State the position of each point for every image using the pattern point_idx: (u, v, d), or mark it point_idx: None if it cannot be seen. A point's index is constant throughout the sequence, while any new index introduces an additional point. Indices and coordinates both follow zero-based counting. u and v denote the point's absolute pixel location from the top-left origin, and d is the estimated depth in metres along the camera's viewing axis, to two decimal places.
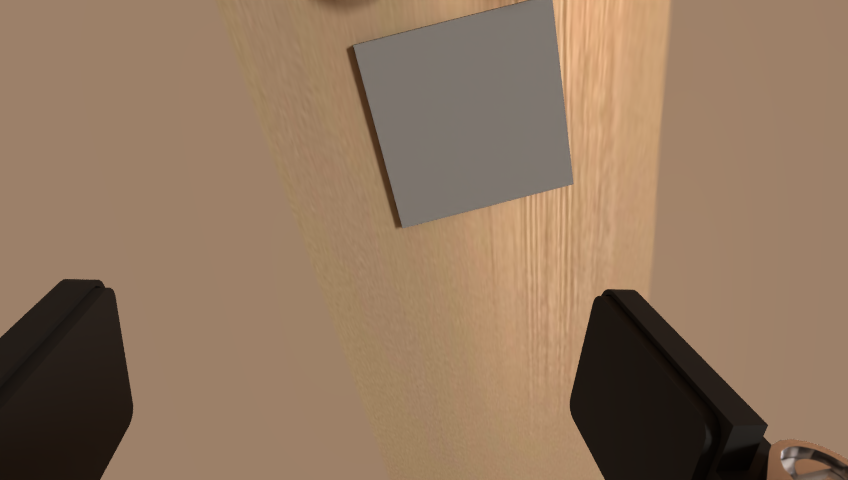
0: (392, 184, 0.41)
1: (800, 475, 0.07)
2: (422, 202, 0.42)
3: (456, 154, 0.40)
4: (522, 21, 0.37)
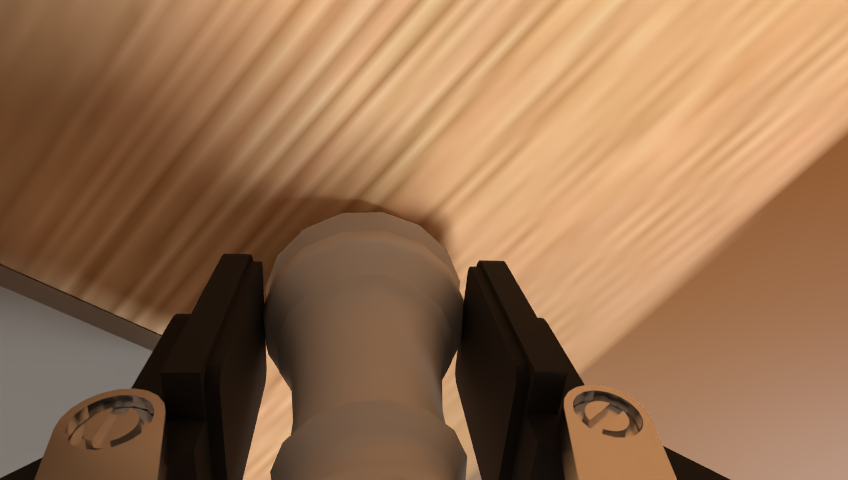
0: None
1: (591, 420, 0.07)
2: None
3: None
4: (43, 353, 0.12)
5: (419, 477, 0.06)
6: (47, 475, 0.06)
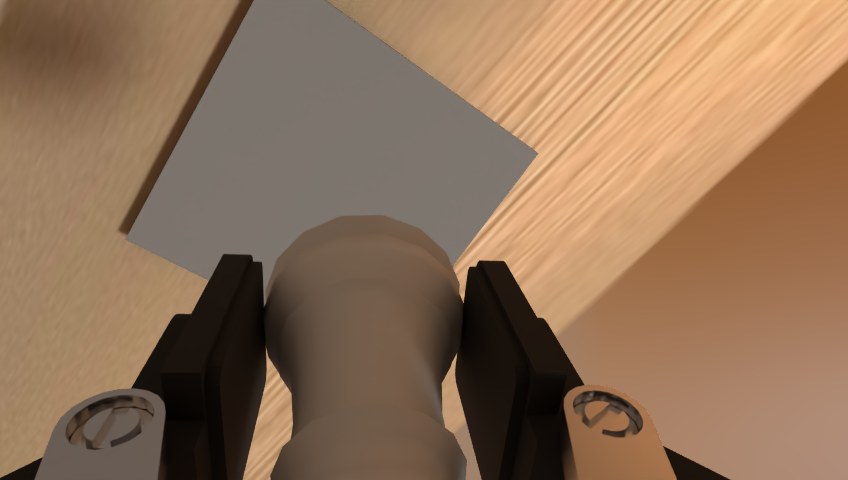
0: (162, 176, 0.24)
1: (591, 420, 0.07)
2: (182, 231, 0.25)
3: (280, 216, 0.25)
4: (487, 148, 0.25)
5: None
6: (47, 475, 0.06)
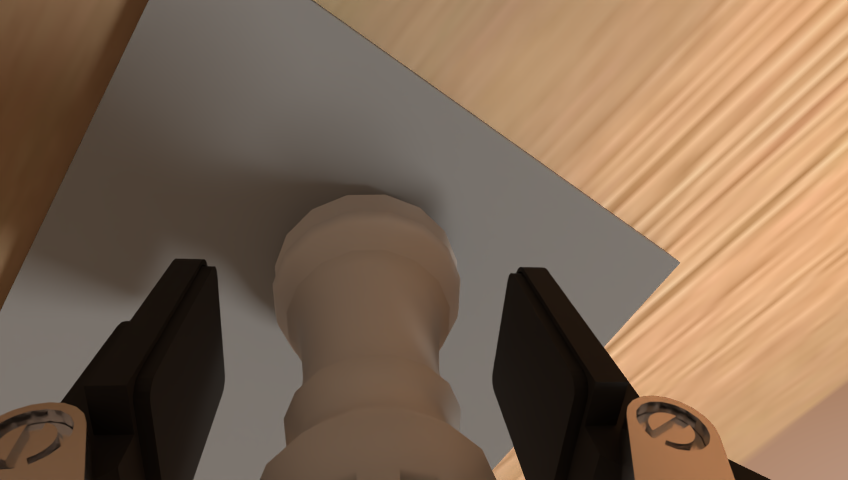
0: (3, 318, 0.13)
1: (654, 430, 0.07)
2: None
3: (225, 375, 0.14)
4: (593, 257, 0.14)
5: (417, 414, 0.07)
6: None
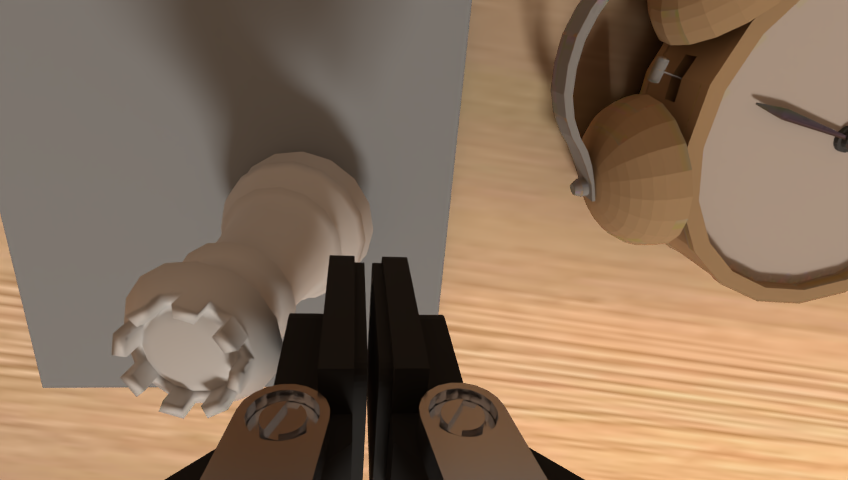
0: None
1: (449, 423, 0.07)
2: (23, 31, 0.15)
3: (155, 158, 0.16)
4: None
5: None
6: (245, 464, 0.06)
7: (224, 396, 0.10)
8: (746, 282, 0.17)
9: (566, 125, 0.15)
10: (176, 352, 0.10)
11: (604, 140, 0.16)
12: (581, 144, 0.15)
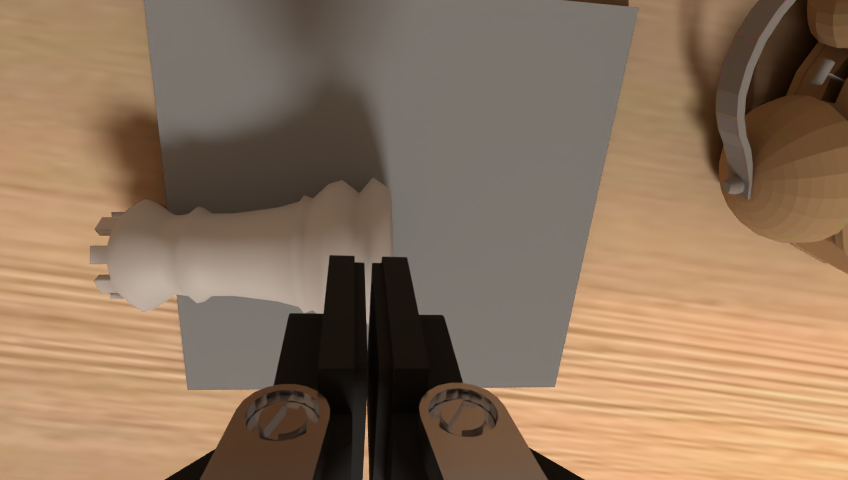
0: None
1: (449, 423, 0.07)
2: (212, 44, 0.15)
3: (322, 166, 0.17)
4: (535, 340, 0.20)
5: (129, 274, 0.14)
6: (245, 464, 0.06)
7: None
8: None
9: (734, 124, 0.16)
10: None
11: (766, 139, 0.16)
12: (746, 143, 0.16)
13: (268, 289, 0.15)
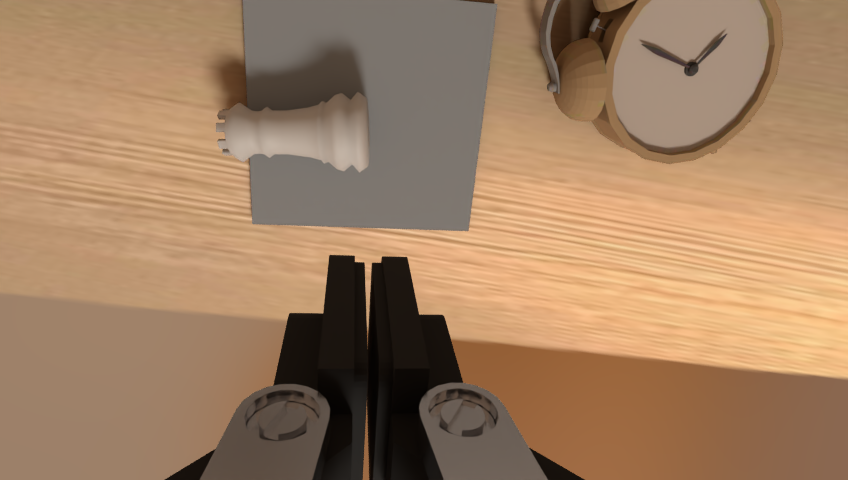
0: None
1: (449, 423, 0.07)
2: (275, 22, 0.29)
3: (330, 89, 0.31)
4: (454, 198, 0.35)
5: (236, 136, 0.29)
6: (245, 464, 0.06)
7: (225, 150, 0.30)
8: (639, 146, 0.32)
9: (546, 50, 0.30)
10: None
11: (565, 59, 0.30)
12: (553, 60, 0.30)
13: (304, 146, 0.29)
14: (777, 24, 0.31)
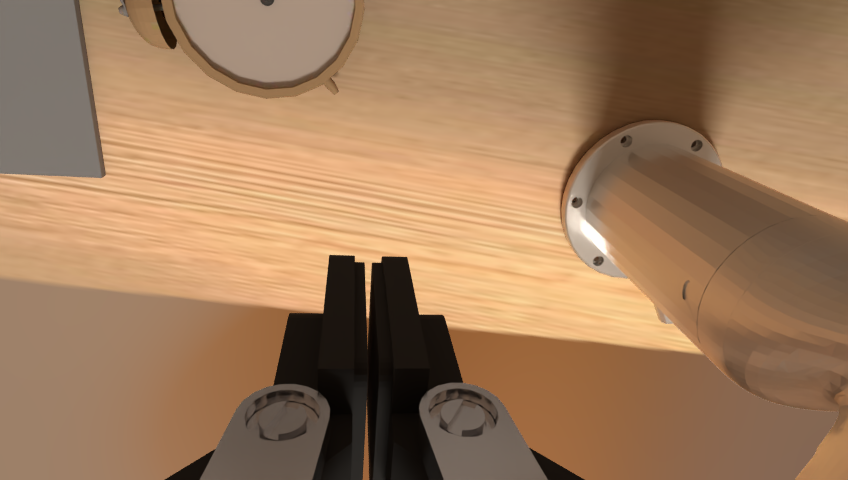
0: None
1: (449, 423, 0.07)
2: None
3: None
4: (76, 143, 0.35)
5: None
6: (246, 464, 0.06)
7: None
8: (225, 77, 0.32)
9: None
10: None
11: None
12: None
13: None
14: None
